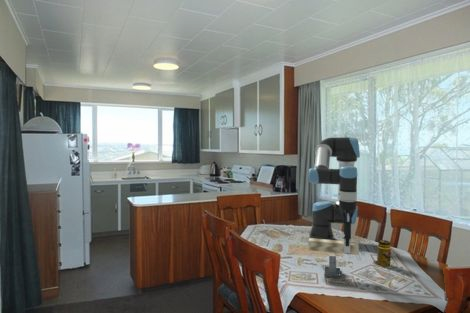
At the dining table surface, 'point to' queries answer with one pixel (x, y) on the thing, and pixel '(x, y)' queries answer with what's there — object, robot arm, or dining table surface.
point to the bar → (332, 246)
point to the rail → (332, 269)
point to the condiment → (383, 254)
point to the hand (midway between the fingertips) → (346, 250)
